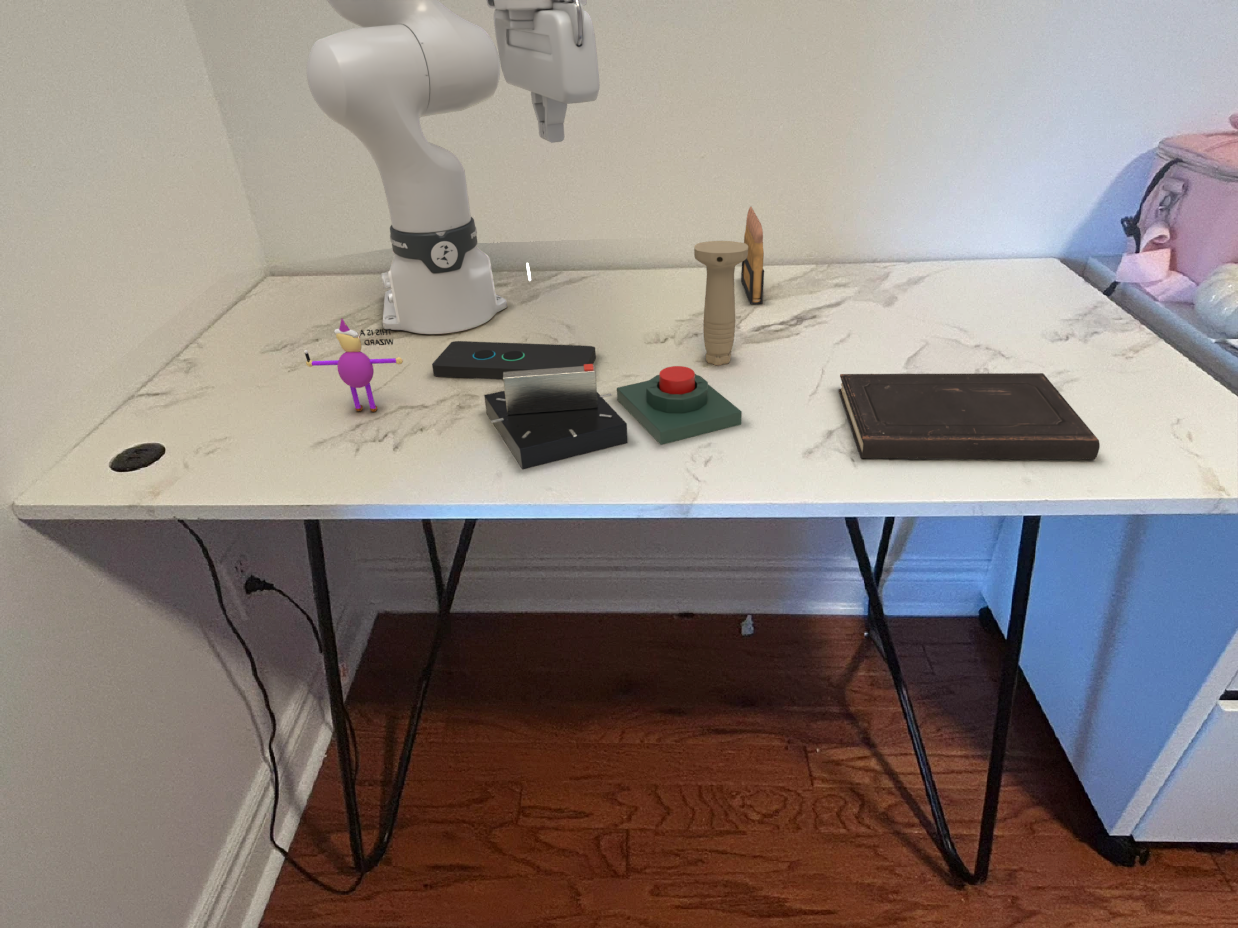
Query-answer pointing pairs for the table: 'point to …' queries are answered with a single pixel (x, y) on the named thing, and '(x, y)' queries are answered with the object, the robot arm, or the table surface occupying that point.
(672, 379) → the button
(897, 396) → the hardcover book
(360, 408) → the wizard figurine
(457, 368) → the smart home device
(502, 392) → the control panel
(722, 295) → the handle
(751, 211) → the ammunition clip
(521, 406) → the knob
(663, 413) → the button box
